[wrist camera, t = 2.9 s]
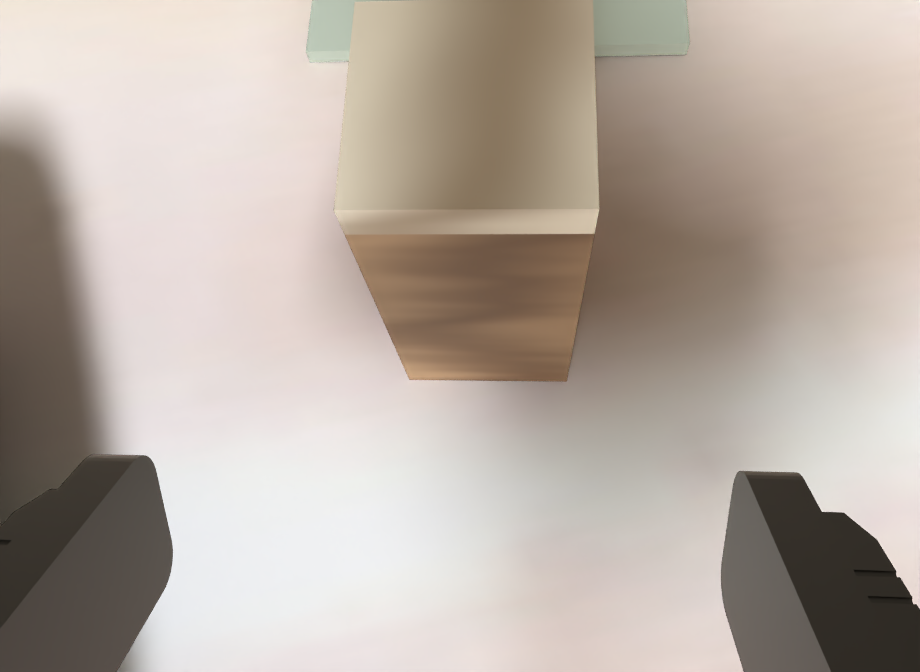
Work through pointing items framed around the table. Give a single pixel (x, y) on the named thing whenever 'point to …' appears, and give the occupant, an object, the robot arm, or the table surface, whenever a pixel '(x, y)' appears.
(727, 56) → the table surface
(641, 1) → the rubber mat
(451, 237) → the walnut block
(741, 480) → the robot arm
